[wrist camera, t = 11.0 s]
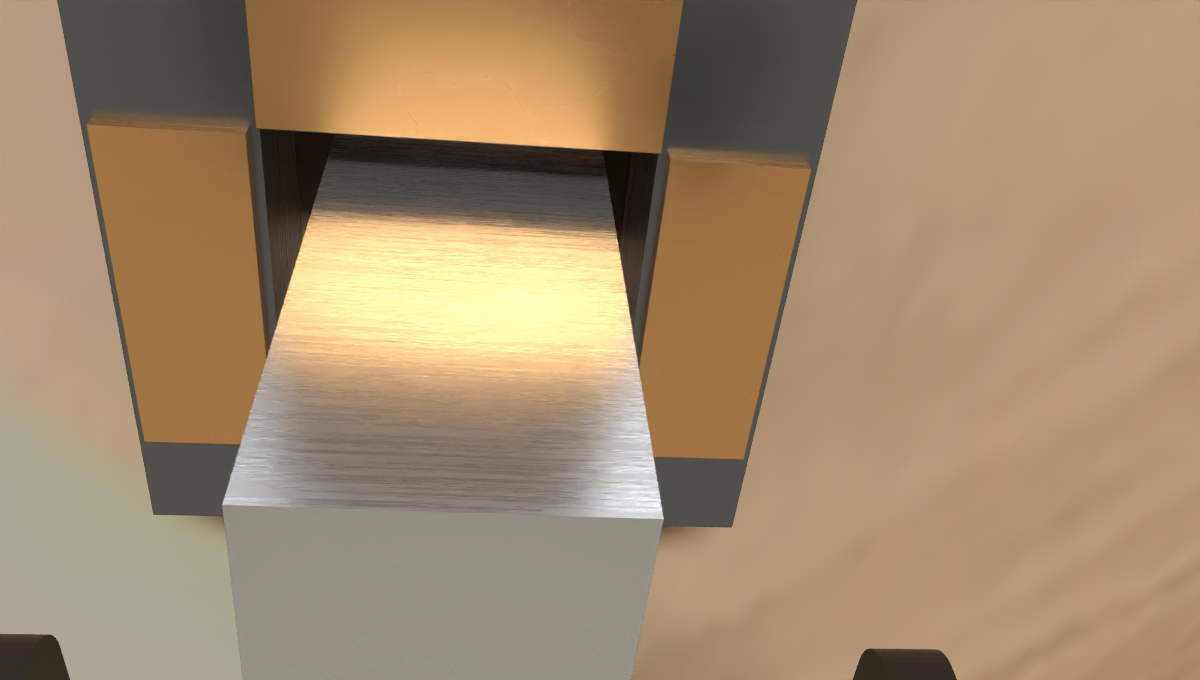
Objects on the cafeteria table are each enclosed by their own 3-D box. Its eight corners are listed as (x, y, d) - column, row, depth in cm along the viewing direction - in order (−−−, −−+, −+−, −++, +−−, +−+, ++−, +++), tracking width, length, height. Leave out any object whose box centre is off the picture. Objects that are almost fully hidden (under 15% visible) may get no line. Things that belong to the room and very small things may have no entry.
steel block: (597, 121, 17) (664, 519, 10) (573, 325, 20) (612, 770, 12) (344, 102, 17) (221, 503, 10) (349, 313, 19) (253, 769, 12)
